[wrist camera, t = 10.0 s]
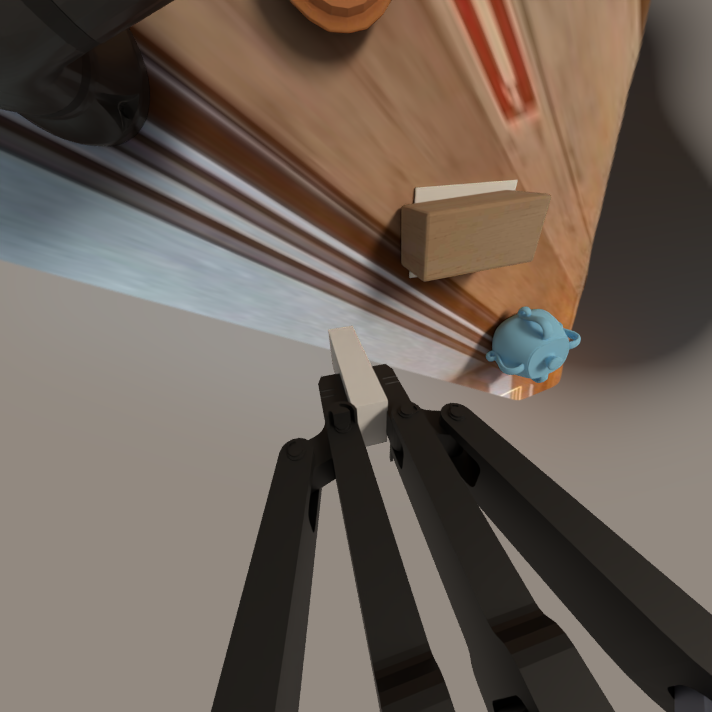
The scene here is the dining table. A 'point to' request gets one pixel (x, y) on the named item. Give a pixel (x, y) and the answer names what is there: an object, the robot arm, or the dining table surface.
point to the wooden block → (471, 232)
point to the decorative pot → (531, 344)
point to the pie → (342, 13)
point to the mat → (459, 192)
